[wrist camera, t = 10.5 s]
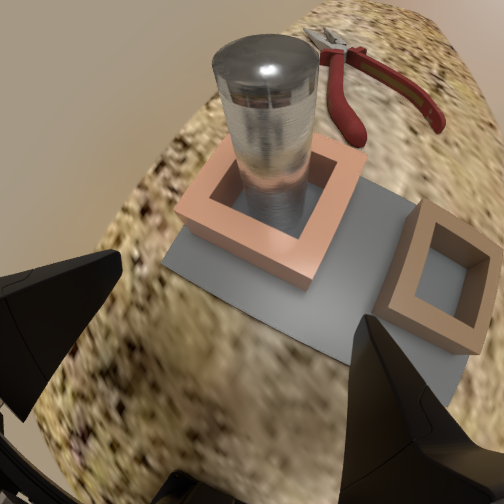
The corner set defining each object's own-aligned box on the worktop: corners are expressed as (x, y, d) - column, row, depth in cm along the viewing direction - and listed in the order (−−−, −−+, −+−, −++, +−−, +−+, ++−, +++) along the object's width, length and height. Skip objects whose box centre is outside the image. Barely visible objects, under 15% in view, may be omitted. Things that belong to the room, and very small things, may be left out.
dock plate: (440, 404, 14) (471, 414, 10) (166, 267, 19) (140, 249, 15) (487, 257, 17) (516, 241, 13) (249, 139, 22) (243, 105, 18)
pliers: (351, 33, 27) (353, 18, 25) (444, 137, 21) (454, 120, 18) (271, 41, 28) (269, 25, 25) (348, 155, 21) (354, 135, 19)
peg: (306, 231, 18) (329, 84, 7) (249, 233, 18) (207, 91, 7) (301, 182, 19) (310, 33, 8) (249, 185, 19) (215, 39, 8)
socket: (306, 291, 17) (312, 279, 13) (191, 232, 19) (173, 210, 15) (356, 184, 19) (368, 154, 15) (252, 141, 20) (246, 109, 17)
